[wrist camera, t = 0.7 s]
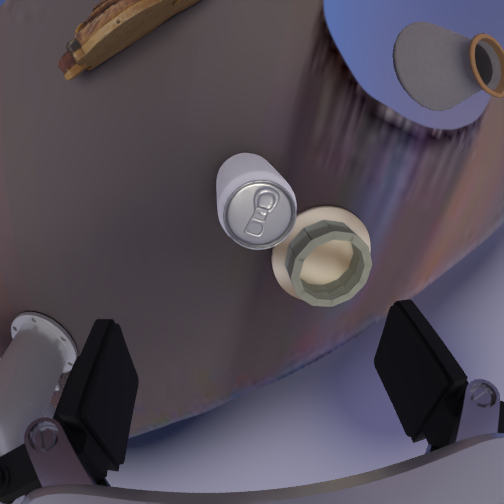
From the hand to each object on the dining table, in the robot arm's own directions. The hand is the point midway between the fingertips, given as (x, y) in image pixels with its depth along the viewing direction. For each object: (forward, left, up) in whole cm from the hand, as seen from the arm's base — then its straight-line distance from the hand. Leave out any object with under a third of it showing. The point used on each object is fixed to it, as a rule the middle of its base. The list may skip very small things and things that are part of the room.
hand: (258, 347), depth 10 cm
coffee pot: (+22, -25, -27) cm, 43 cm away
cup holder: (-8, -13, -27) cm, 31 cm away
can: (0, -2, -27) cm, 27 cm away
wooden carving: (+16, +12, -27) cm, 33 cm away
